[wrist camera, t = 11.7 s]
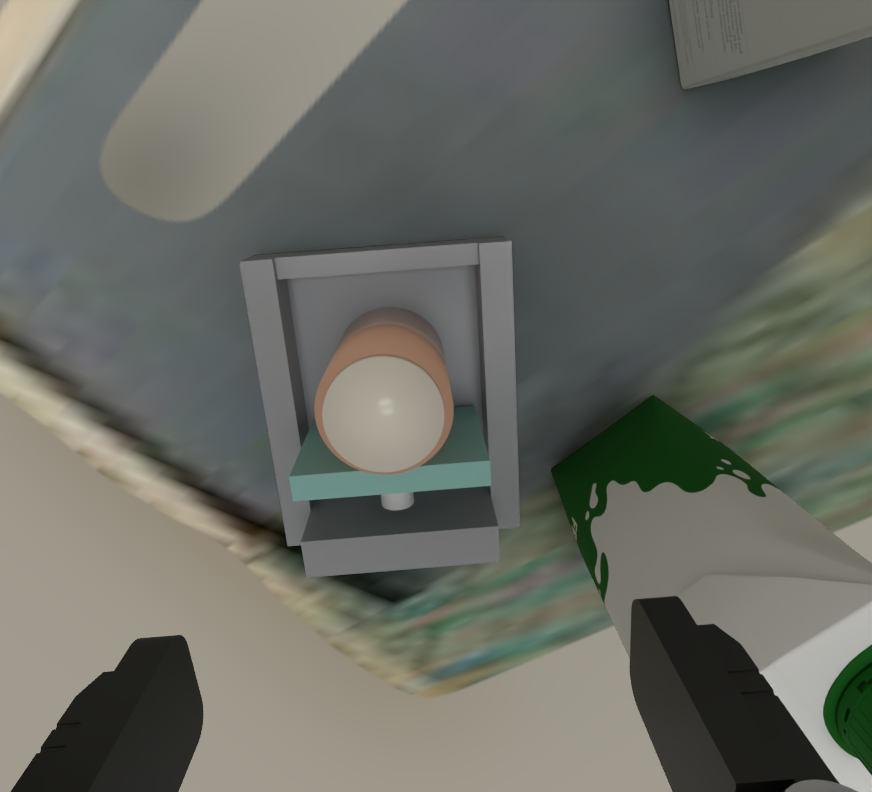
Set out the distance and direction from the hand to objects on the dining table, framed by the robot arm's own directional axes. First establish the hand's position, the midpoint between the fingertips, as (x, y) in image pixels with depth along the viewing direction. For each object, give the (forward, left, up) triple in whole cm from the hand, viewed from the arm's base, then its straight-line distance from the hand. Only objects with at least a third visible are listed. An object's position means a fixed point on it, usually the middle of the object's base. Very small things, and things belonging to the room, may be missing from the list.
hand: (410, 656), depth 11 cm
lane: (+1, +2, -23) cm, 23 cm away
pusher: (+1, +5, -22) cm, 22 cm away
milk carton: (-12, +9, -23) cm, 27 cm away
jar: (+1, 0, -22) cm, 22 cm away
